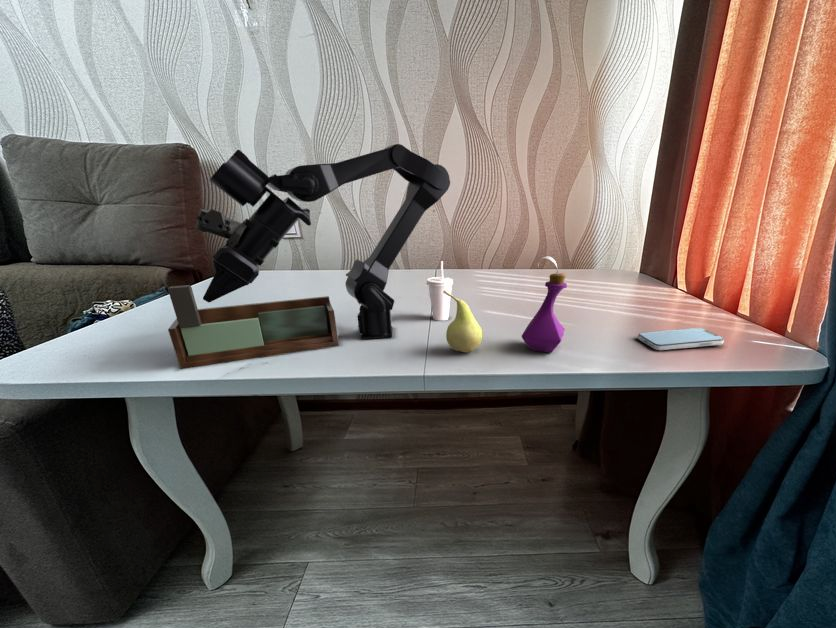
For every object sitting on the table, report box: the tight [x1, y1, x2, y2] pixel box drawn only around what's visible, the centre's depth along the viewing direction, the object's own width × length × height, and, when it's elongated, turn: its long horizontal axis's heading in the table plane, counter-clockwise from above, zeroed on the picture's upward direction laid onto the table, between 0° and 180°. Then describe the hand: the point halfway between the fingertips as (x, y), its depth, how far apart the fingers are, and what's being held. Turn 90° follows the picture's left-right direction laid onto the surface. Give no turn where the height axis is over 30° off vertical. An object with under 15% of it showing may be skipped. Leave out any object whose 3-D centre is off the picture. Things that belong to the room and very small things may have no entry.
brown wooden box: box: [167, 295, 340, 370], centre depth 73 cm, size 27×8×8 cm, turn 115°
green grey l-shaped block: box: [167, 284, 264, 356], centre depth 68 cm, size 12×2×13 cm, turn 115°
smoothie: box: [425, 260, 454, 321], centre depth 91 cm, size 6×6×14 cm
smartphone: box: [637, 327, 725, 351], centre depth 78 cm, size 8×2×15 cm
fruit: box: [443, 290, 483, 353], centre depth 72 cm, size 7×8×12 cm
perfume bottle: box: [521, 255, 568, 354], centre depth 72 cm, size 8×8×18 cm
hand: (210, 294), depth 66 cm, fingers open, 9 cm apart
